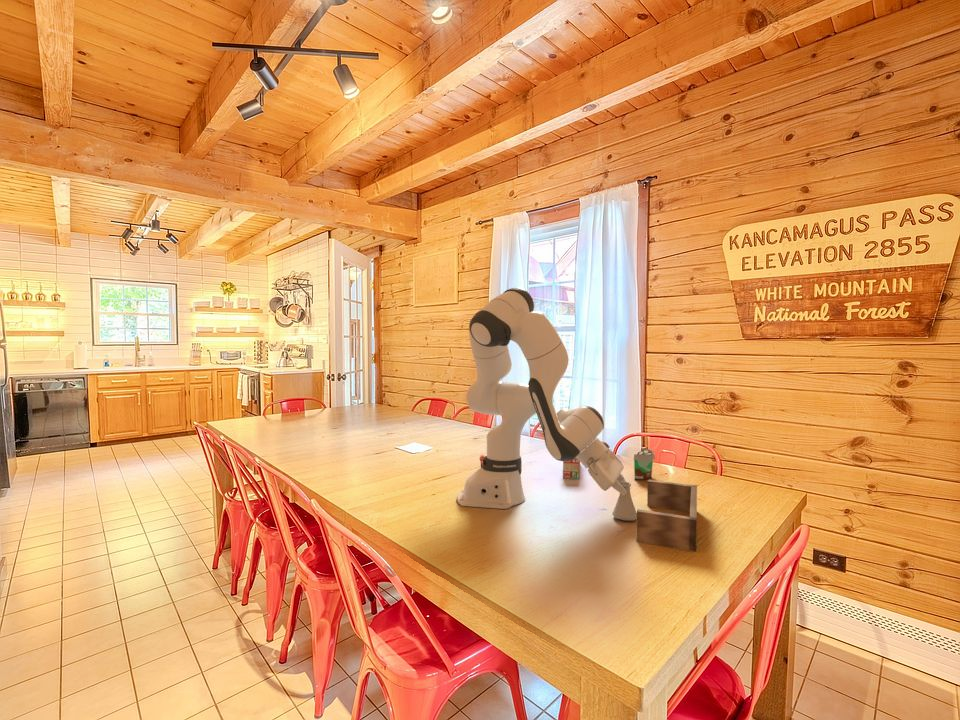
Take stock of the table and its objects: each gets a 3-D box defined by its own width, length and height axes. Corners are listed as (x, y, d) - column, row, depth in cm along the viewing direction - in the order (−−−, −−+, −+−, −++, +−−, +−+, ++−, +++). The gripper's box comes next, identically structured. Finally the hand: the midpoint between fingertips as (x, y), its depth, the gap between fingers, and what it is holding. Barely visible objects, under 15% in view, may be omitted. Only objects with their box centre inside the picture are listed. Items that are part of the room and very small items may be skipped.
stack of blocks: (565, 463, 193) (565, 435, 193) (580, 464, 192) (580, 435, 191) (562, 478, 172) (562, 446, 172) (579, 479, 171) (579, 447, 170)
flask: (638, 513, 136) (638, 480, 135) (637, 523, 129) (637, 488, 128) (613, 510, 138) (613, 478, 137) (611, 519, 132) (611, 486, 131)
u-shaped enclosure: (636, 541, 118) (636, 511, 118) (647, 504, 145) (648, 479, 144) (696, 551, 112) (696, 520, 112) (696, 511, 139) (697, 485, 138)
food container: (650, 483, 165) (651, 456, 165) (633, 481, 168) (633, 454, 168) (657, 475, 176) (657, 449, 175) (641, 472, 179) (641, 447, 178)
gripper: (593, 456, 126) (629, 495, 122) (607, 441, 145) (639, 475, 141) (577, 470, 128) (612, 509, 124) (593, 453, 147) (624, 487, 143)
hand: (626, 491), depth 133 cm, fingers closed on flask, 3 cm apart
